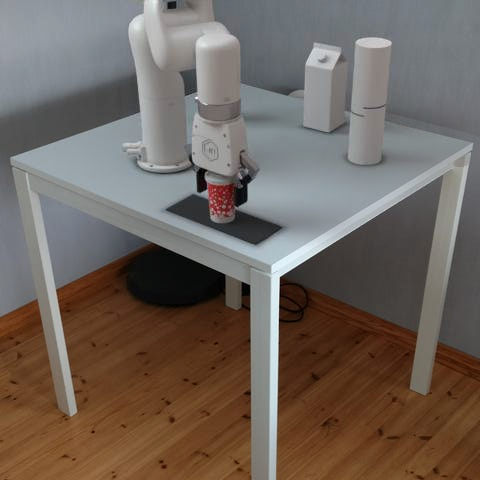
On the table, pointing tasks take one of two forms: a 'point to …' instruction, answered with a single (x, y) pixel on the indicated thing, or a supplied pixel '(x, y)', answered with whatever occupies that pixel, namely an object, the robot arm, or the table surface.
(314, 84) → the milk carton
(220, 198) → the beverage cup
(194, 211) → the mat
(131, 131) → the table surface
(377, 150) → the cylindrical container
